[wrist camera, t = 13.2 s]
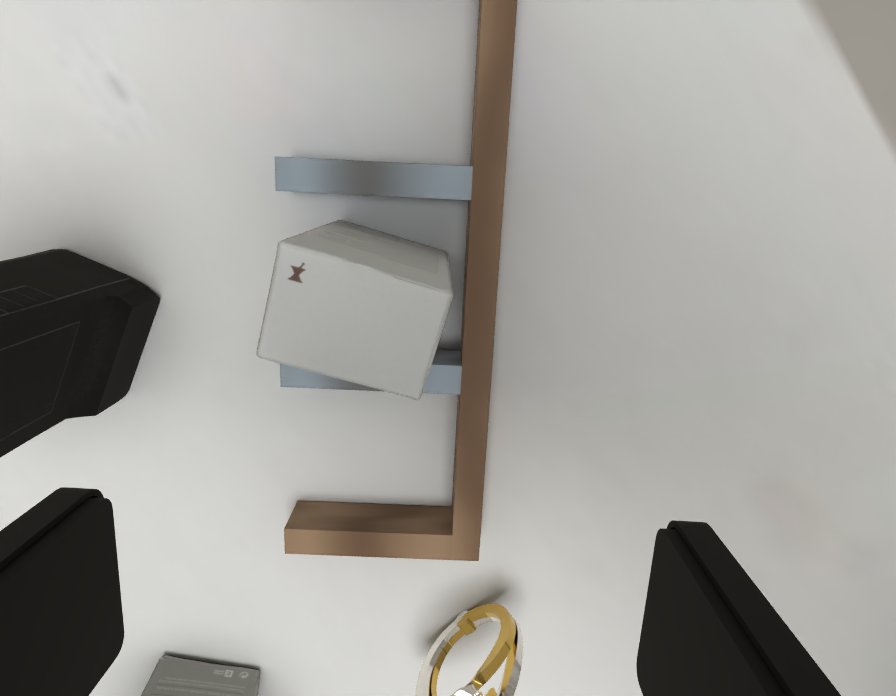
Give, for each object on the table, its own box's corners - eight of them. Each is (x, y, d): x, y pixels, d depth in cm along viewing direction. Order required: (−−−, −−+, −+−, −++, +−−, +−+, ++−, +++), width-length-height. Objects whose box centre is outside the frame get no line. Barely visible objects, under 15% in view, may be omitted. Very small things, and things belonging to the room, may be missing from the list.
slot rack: (514, -43, 28) (521, -70, 25) (475, 530, 35) (478, 561, 32) (287, -56, 28) (268, -84, 25) (298, 523, 35) (284, 553, 32)
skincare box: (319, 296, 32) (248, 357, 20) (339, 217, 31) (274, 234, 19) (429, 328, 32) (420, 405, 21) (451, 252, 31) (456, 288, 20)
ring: (496, 568, 36) (510, 672, 28) (527, 605, 37) (549, 715, 29) (405, 627, 37) (395, 742, 29) (436, 662, 38) (434, 783, 30)
